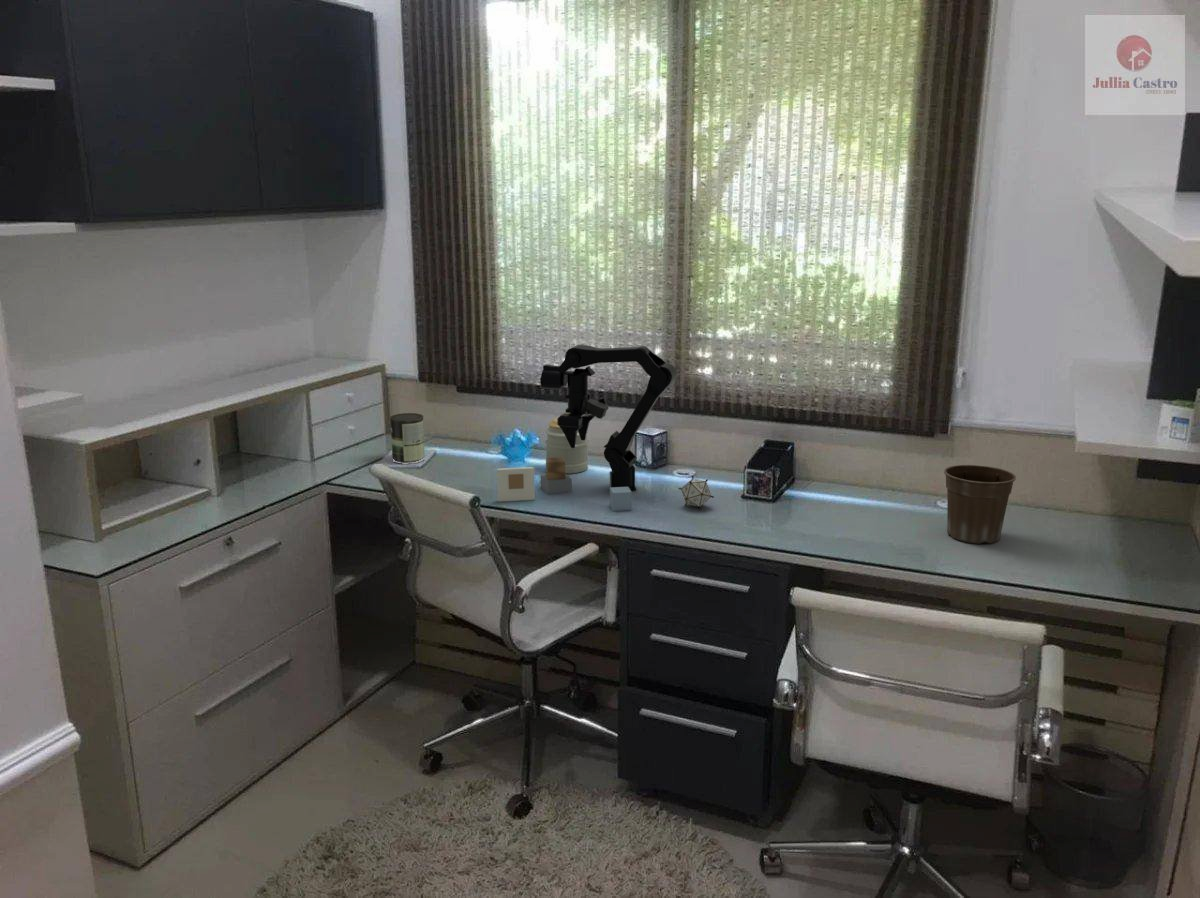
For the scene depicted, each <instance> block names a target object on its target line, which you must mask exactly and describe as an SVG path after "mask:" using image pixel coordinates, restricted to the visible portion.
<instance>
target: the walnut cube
mask: <svg viewBox="0 0 1200 898" xmlns="http://www.w3.org/2000/svg"><path fill="white" fill-rule="evenodd" d="M545 467H546V469H545V470H546V473H545V474H546V475H547V479H548V480H549V479H565V460H564V457H553V458H546V457H545Z"/></svg>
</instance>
